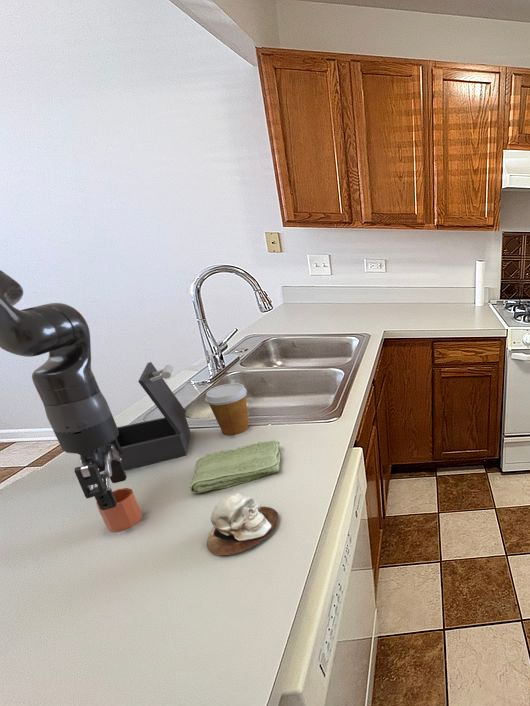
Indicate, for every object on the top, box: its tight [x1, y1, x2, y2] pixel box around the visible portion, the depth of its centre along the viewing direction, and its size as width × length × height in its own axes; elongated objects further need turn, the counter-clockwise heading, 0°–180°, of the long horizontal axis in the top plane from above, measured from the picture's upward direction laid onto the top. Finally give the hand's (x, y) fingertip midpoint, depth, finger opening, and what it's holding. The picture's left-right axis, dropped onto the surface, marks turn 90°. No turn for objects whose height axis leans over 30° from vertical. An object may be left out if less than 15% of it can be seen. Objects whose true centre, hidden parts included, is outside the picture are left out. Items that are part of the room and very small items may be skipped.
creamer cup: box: [95, 487, 143, 533], centre depth 76 cm, size 5×5×6 cm
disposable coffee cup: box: [204, 382, 250, 436], centre depth 107 cm, size 10×10×12 cm
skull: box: [205, 492, 280, 556], centre depth 74 cm, size 12×10×10 cm
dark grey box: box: [117, 415, 191, 472], centre depth 98 cm, size 15×13×6 cm
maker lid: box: [138, 361, 186, 434], centre depth 97 cm, size 15×13×5 cm
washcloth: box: [189, 440, 281, 494], centre depth 92 cm, size 13×18×3 cm
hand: (115, 493), depth 75 cm, fingers open, 8 cm apart
